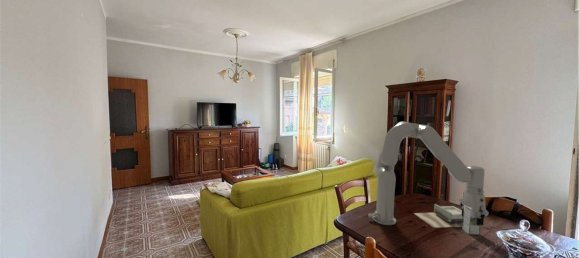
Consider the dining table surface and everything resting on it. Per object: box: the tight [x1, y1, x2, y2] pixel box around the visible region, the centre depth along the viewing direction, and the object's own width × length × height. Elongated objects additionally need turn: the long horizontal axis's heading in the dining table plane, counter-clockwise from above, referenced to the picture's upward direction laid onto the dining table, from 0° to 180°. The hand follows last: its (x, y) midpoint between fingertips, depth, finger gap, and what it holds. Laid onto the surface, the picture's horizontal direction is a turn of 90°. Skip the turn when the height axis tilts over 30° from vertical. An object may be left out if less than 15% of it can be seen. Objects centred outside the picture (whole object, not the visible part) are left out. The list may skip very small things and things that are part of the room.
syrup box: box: [461, 205, 482, 236], centre depth 128 cm, size 6×6×14 cm
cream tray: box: [413, 211, 463, 229], centre depth 143 cm, size 26×18×1 cm
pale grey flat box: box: [433, 203, 463, 224], centre depth 143 cm, size 13×14×6 cm
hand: (471, 220), depth 128 cm, fingers open, 9 cm apart
